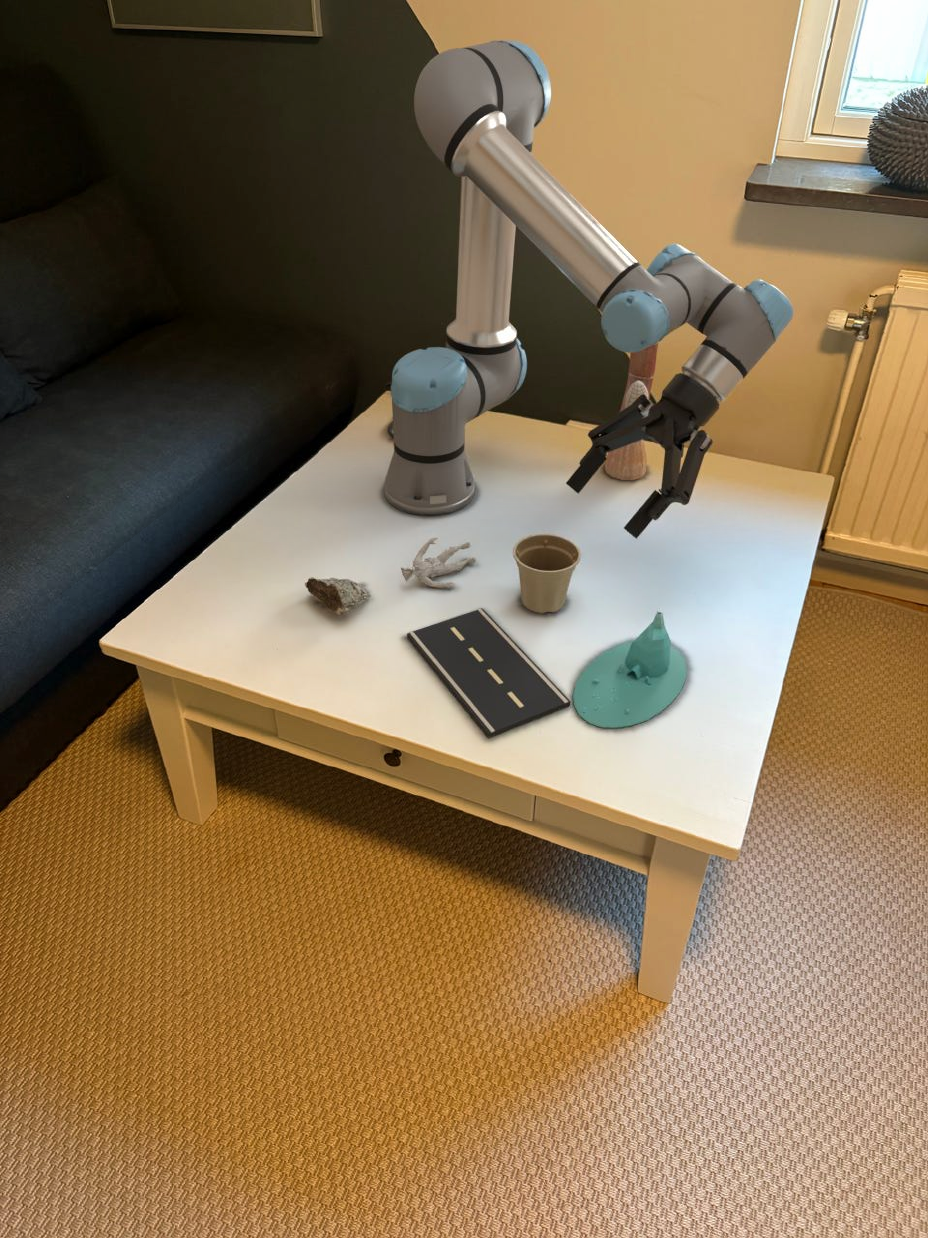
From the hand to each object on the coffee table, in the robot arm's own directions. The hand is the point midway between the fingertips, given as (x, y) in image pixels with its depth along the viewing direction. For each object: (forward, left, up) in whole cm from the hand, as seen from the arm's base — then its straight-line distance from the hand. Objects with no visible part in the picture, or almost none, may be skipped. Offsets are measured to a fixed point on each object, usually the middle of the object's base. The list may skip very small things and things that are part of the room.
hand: (599, 510), depth 132 cm
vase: (-26, +27, -13) cm, 40 cm away
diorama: (+20, -8, -13) cm, 25 cm away
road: (+9, -23, -13) cm, 28 cm away
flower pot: (0, -8, -13) cm, 16 cm away
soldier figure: (-13, -18, -13) cm, 26 cm away
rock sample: (-14, -34, -13) cm, 39 cm away
